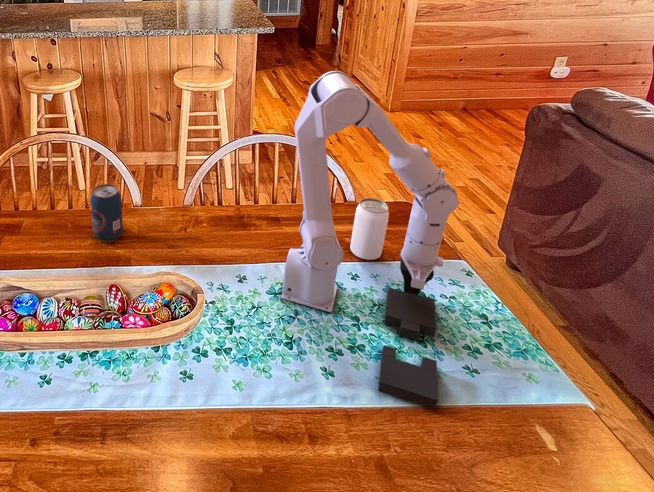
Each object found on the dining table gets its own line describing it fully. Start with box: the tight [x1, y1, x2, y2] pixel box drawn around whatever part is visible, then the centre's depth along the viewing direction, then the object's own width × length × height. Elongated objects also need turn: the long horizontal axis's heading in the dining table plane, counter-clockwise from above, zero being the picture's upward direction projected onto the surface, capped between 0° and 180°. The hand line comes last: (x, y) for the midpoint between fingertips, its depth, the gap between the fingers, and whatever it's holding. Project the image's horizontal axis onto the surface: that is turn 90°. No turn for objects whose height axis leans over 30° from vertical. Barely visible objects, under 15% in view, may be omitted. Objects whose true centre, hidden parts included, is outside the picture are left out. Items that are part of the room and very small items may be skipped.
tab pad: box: [383, 287, 437, 341], centre depth 93 cm, size 8×10×2 cm
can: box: [349, 197, 390, 261], centre depth 109 cm, size 6×6×12 cm
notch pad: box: [377, 344, 439, 410], centre depth 81 cm, size 8×8×2 cm
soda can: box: [90, 183, 124, 243], centre depth 116 cm, size 7×7×12 cm
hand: (410, 294), depth 98 cm, fingers closed
